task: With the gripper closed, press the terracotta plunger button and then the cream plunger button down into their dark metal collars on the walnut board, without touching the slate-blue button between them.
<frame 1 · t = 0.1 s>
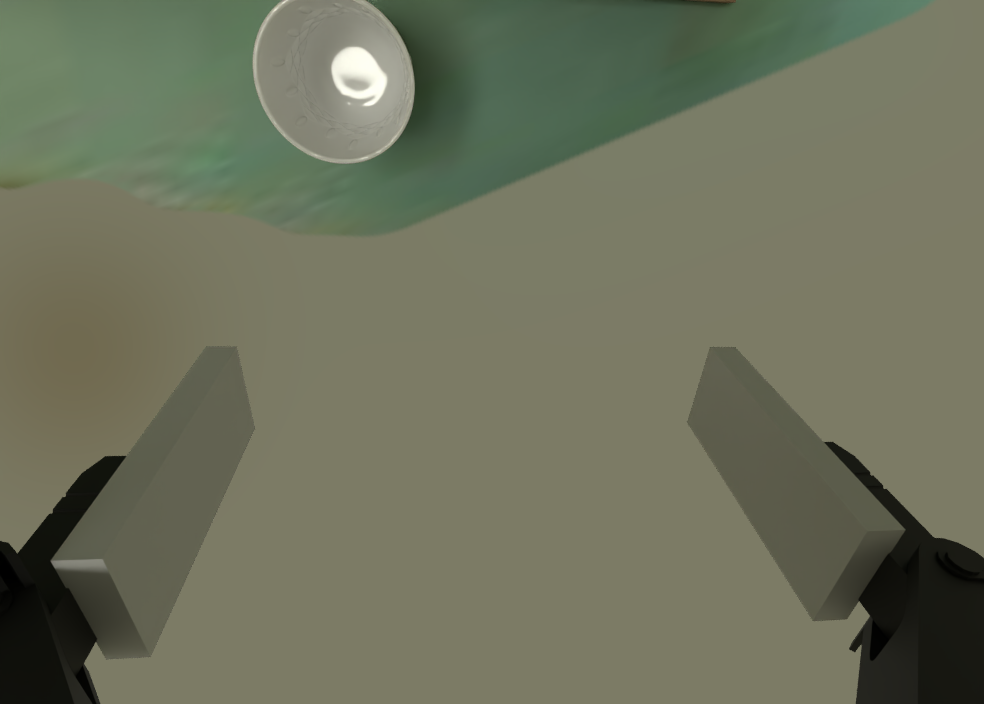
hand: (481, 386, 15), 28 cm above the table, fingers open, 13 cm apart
white cup: (360, 69, 35), on the table
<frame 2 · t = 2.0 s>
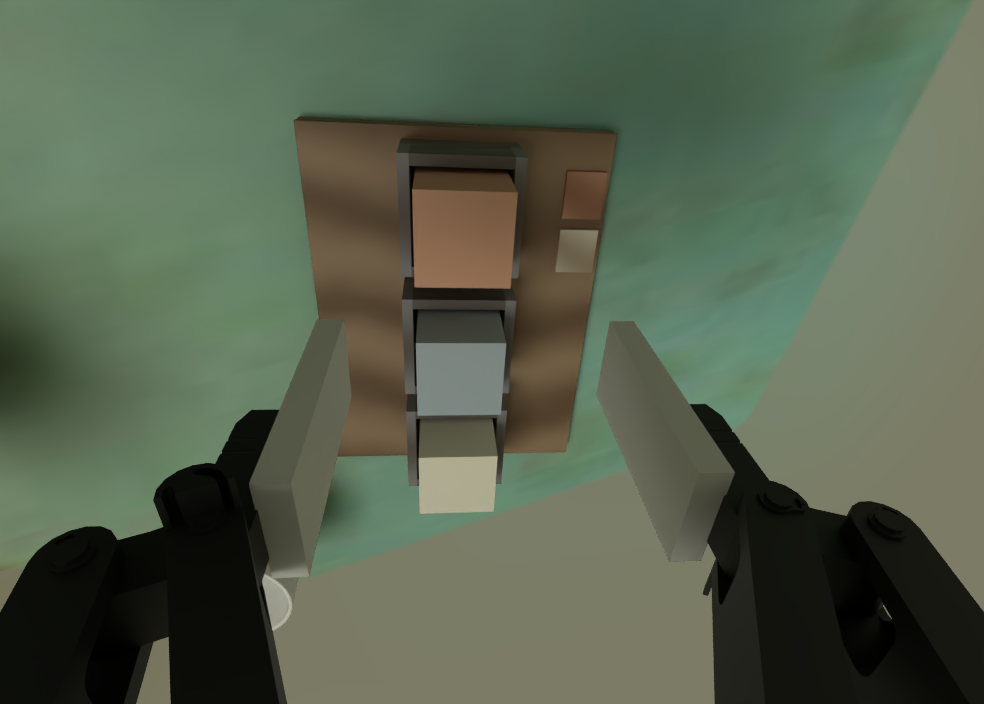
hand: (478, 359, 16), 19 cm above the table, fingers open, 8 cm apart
terracotta key: (462, 225, 28), point 6 cm above the table, slide at 0.0 cm
cream key: (456, 458, 36), point 6 cm above the table, slide at 0.0 cm
white cup: (271, 491, 44), on the table
slate key: (458, 357, 32), point 6 cm above the table, slide at 0.0 cm
board: (455, 310, 37), on the table
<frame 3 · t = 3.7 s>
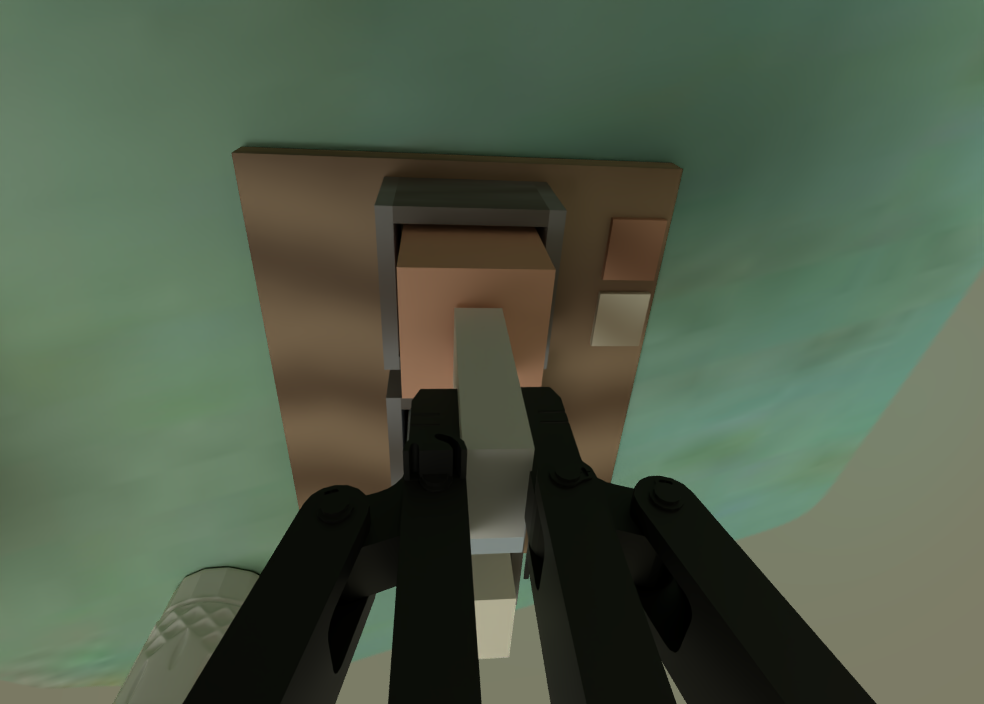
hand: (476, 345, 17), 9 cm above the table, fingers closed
terracotta key: (470, 303, 19), point 6 cm above the table, slide at 0.2 cm, touching gripper
cream key: (460, 585, 28), point 6 cm above the table, slide at 0.0 cm
white cup: (231, 595, 36), on the table
slate key: (464, 470, 23), point 6 cm above the table, slide at 0.0 cm
board: (459, 389, 29), on the table
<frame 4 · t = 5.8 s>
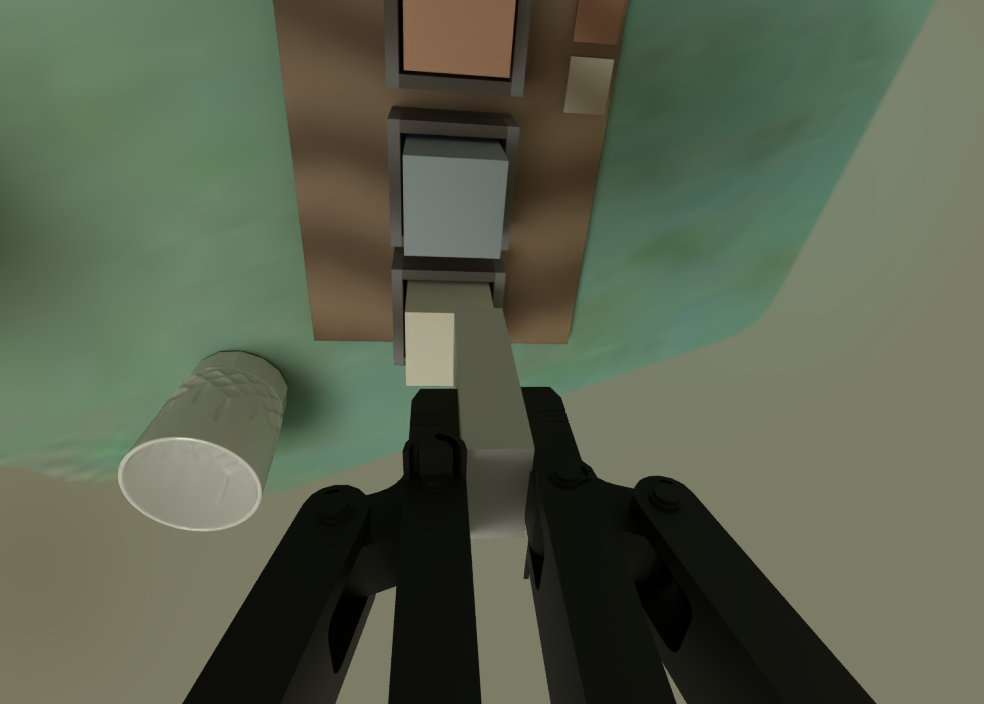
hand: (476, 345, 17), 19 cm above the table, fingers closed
terracotta key: (457, 11, 25), point 4 cm above the table, slide at 2.2 cm
cream key: (447, 328, 32), point 6 cm above the table, slide at 0.0 cm
white cup: (242, 385, 40), on the table
slate key: (452, 194, 28), point 6 cm above the table, slide at 0.0 cm
board: (449, 165, 33), on the table
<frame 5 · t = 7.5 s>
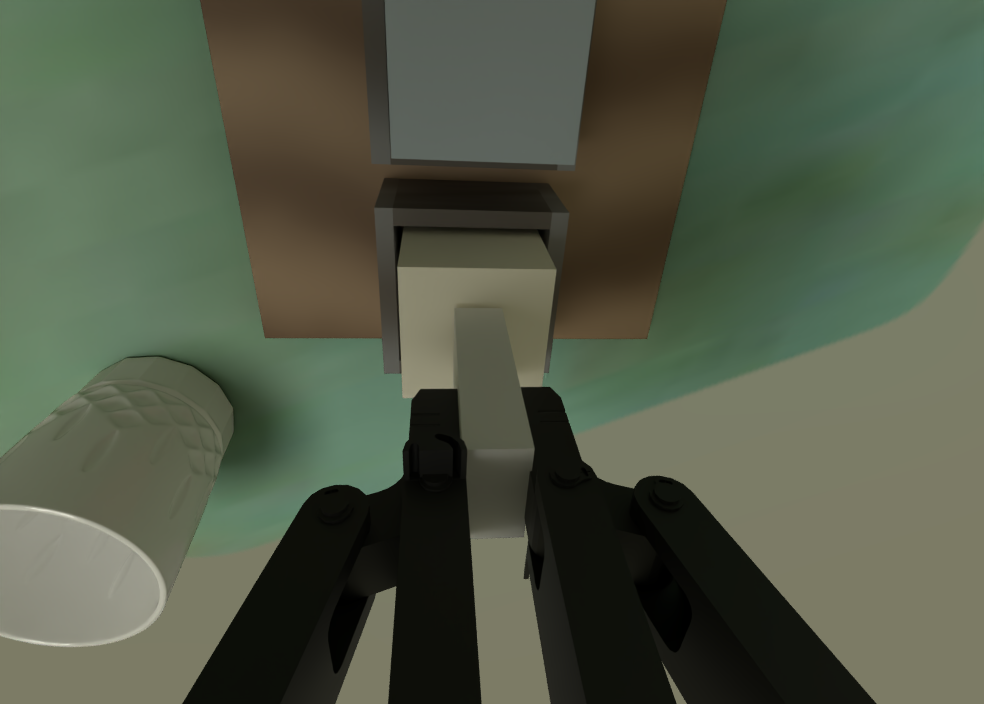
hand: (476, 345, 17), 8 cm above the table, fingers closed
cream key: (470, 303, 19), point 6 cm above the table, slide at 0.5 cm, touching gripper
white cup: (167, 407, 27), on the table
slate key: (481, 52, 15), point 6 cm above the table, slide at 0.0 cm
board: (469, 44, 20), on the table
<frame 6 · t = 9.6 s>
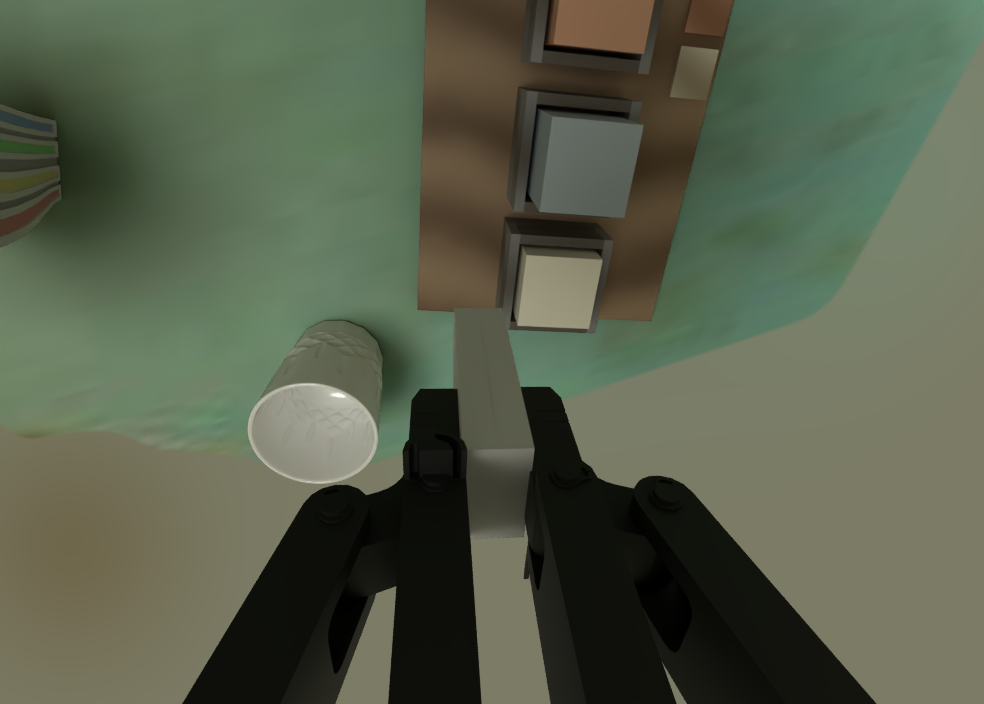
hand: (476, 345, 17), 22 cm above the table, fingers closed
vase: (16, 149, 33), on the table
cream key: (551, 279, 36), point 4 cm above the table, slide at 2.2 cm
white cup: (339, 356, 42), on the table
slate key: (579, 161, 30), point 6 cm above the table, slide at 0.0 cm
board: (558, 145, 36), on the table
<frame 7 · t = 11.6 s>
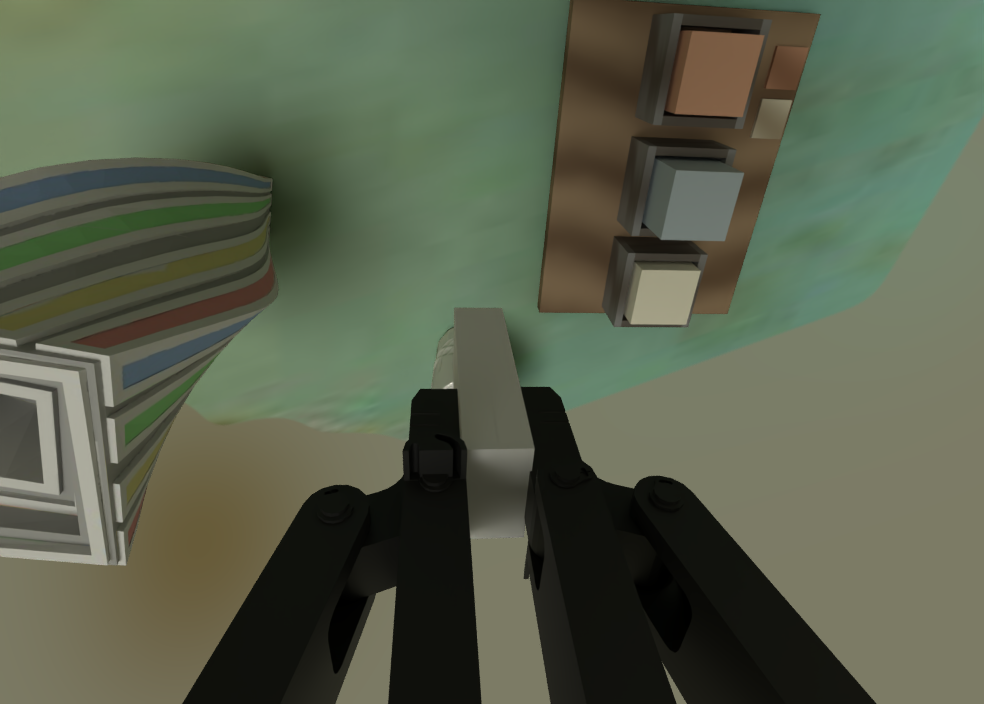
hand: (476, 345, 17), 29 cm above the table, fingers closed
terracotta key: (702, 72, 37), point 4 cm above the table, slide at 2.2 cm
vase: (239, 201, 43), on the table
cream key: (654, 285, 45), point 4 cm above the table, slide at 2.2 cm
white cup: (471, 351, 52), on the table
slate key: (687, 197, 39), point 6 cm above the table, slide at 0.0 cm
board: (657, 177, 44), on the table
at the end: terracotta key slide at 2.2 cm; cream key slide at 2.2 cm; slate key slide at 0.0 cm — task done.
